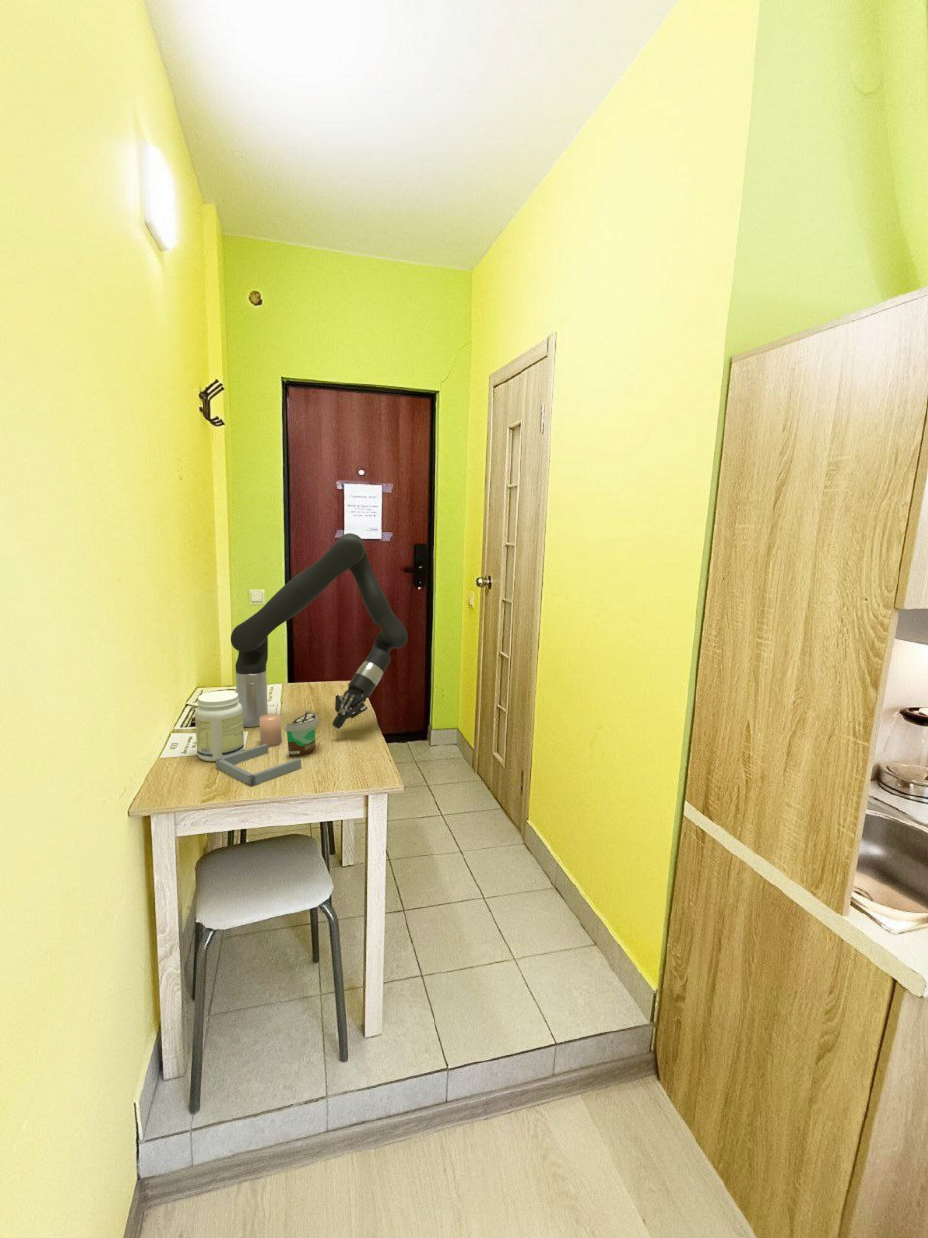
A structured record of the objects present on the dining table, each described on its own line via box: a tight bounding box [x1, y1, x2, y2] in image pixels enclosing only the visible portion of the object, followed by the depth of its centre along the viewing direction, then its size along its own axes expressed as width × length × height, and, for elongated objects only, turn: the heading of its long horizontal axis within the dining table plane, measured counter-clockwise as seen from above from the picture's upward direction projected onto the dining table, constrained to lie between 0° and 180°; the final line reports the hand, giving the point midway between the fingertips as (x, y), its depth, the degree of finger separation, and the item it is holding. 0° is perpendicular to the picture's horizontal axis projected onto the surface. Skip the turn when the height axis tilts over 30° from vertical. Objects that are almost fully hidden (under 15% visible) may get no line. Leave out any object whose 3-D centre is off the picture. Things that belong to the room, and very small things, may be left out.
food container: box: [285, 710, 319, 758], centre depth 166 cm, size 12×6×10 cm, turn 168°
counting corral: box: [215, 744, 302, 787], centre depth 155 cm, size 16×15×2 cm
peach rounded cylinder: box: [259, 713, 283, 748], centre depth 172 cm, size 6×6×8 cm
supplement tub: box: [194, 690, 245, 762], centre depth 162 cm, size 12×12×17 cm
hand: (335, 727), depth 174 cm, fingers closed
